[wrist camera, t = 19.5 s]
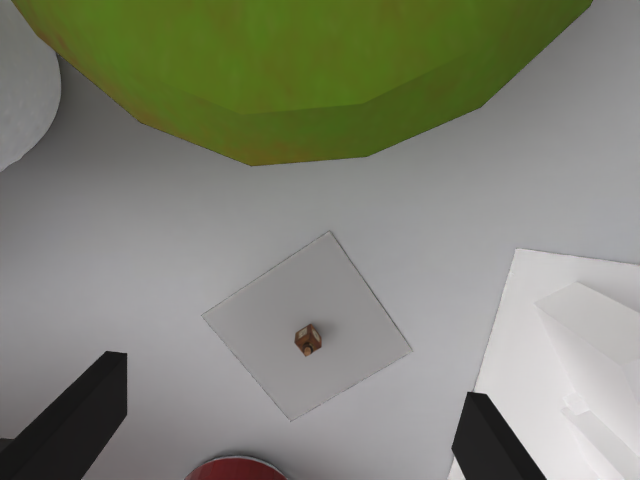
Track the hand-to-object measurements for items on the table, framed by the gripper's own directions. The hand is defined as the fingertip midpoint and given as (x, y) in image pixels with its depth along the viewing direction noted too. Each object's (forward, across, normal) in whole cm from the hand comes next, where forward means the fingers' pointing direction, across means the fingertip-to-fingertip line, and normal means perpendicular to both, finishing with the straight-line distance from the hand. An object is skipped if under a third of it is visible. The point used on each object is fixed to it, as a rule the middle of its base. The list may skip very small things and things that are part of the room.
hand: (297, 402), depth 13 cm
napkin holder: (+5, +15, -1) cm, 16 cm away
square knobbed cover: (+5, 0, 0) cm, 5 cm away
